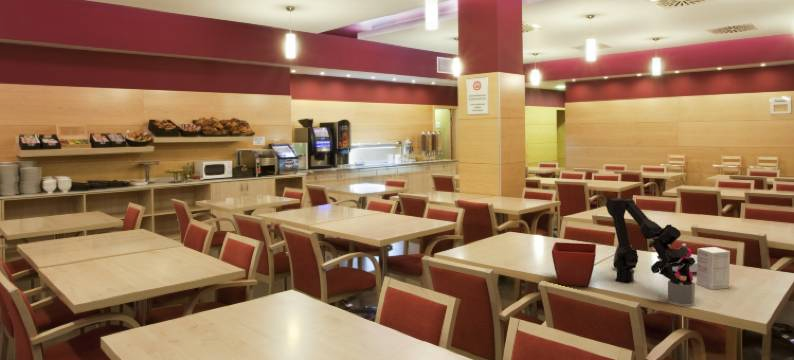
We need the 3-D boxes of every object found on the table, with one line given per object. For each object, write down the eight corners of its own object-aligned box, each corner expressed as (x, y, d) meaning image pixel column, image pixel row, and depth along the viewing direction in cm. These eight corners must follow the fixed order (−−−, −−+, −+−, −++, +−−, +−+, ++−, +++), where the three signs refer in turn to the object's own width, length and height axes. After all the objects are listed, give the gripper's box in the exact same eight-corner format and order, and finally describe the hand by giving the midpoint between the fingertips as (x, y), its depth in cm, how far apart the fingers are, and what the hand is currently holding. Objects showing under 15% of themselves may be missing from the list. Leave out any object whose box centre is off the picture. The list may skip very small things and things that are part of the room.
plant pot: (551, 286, 245) (551, 250, 243) (554, 275, 263) (555, 241, 261) (595, 290, 238) (595, 253, 236) (596, 278, 256) (596, 244, 254)
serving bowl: (659, 274, 259) (660, 261, 258) (656, 264, 278) (656, 251, 277) (708, 278, 251) (709, 264, 250) (701, 267, 270) (702, 253, 270)
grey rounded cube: (664, 302, 219) (664, 282, 218) (671, 296, 226) (672, 277, 225) (690, 307, 212) (691, 287, 211) (697, 301, 219) (698, 281, 218)
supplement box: (714, 282, 245) (715, 246, 243) (729, 288, 235) (731, 251, 234) (695, 283, 243) (696, 247, 241) (710, 289, 234) (712, 252, 232)
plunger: (668, 295, 219) (669, 276, 218) (674, 291, 224) (674, 272, 223) (688, 298, 214) (688, 279, 213) (693, 294, 219) (693, 275, 218)
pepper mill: (695, 289, 234) (696, 245, 232) (678, 289, 235) (678, 245, 233) (688, 284, 241) (689, 241, 240) (672, 284, 242) (672, 242, 240)
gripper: (656, 242, 218) (677, 275, 208) (692, 238, 223) (714, 270, 214) (642, 256, 226) (661, 289, 216) (677, 252, 231) (697, 284, 222)
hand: (684, 282), depth 217 cm, fingers open, 6 cm apart
